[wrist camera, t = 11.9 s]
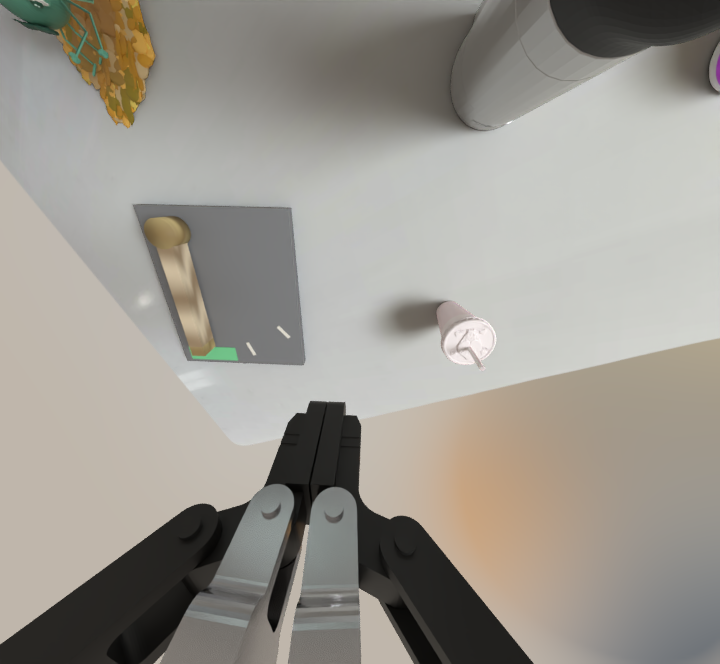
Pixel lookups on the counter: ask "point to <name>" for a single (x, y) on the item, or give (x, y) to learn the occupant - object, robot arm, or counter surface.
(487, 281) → the counter surface
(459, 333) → the smoothie
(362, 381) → the counter surface
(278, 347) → the dial plate
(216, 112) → the counter surface
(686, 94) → the counter surface
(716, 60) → the supplement bottle
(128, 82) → the green cartoon bug figurine
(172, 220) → the dial lever
